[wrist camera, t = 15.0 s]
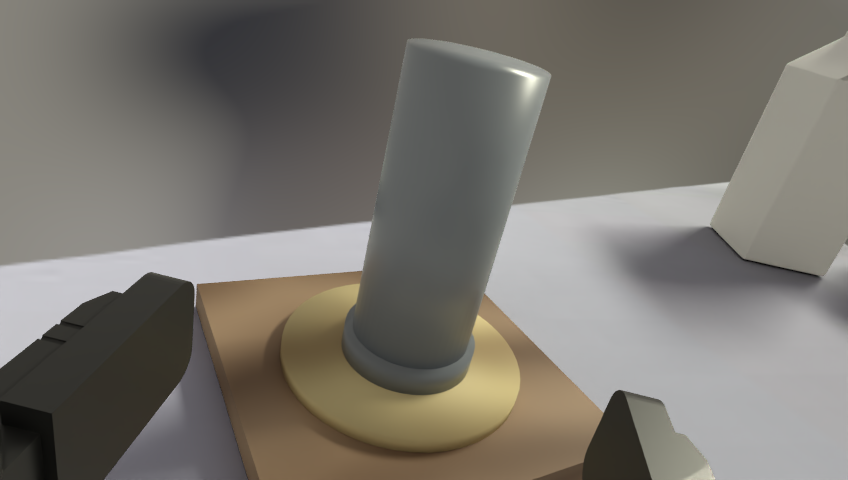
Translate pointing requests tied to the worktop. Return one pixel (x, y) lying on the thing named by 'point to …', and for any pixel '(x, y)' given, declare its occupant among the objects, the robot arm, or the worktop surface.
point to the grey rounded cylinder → (440, 212)
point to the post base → (382, 395)
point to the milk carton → (795, 170)
